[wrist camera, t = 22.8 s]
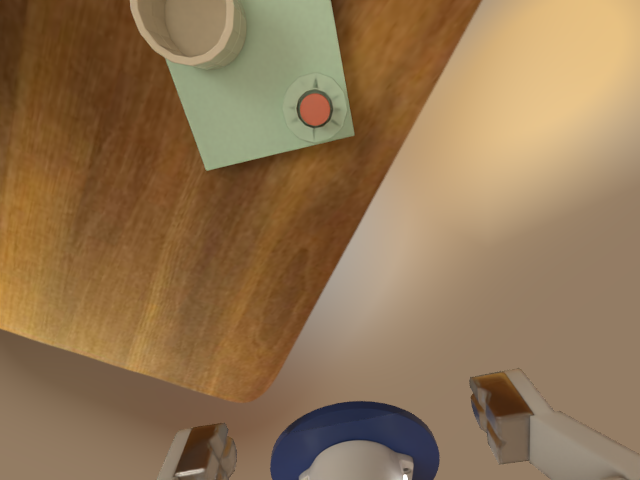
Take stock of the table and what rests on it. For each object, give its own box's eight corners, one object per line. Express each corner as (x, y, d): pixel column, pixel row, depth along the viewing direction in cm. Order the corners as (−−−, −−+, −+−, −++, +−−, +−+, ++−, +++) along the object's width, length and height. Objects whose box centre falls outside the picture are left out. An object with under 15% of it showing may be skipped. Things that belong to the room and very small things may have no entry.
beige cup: (257, 58, 27) (246, 51, 23) (180, 78, 28) (155, 75, 23) (231, -40, 25) (213, -71, 20) (147, -17, 25) (110, -42, 21)
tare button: (331, 120, 28) (333, 121, 27) (304, 127, 28) (304, 128, 27) (325, 90, 27) (326, 89, 26) (297, 97, 27) (296, 97, 26)
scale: (353, 133, 31) (357, 137, 29) (210, 167, 32) (201, 174, 29) (313, -85, 25) (314, -107, 22) (137, -35, 26) (117, -50, 23)
